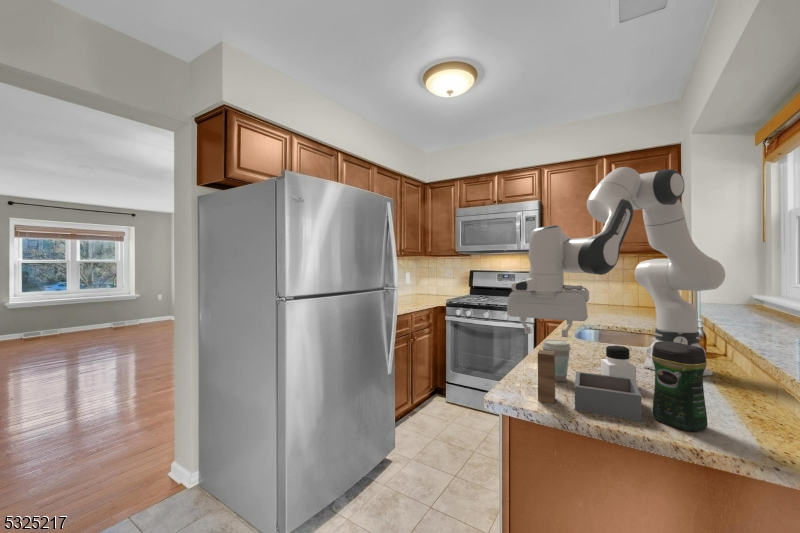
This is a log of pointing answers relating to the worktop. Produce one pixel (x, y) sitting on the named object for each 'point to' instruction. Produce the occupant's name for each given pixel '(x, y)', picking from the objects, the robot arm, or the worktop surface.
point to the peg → (546, 376)
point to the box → (608, 395)
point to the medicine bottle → (617, 362)
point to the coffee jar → (679, 385)
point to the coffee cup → (559, 357)
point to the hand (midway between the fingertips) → (545, 335)
